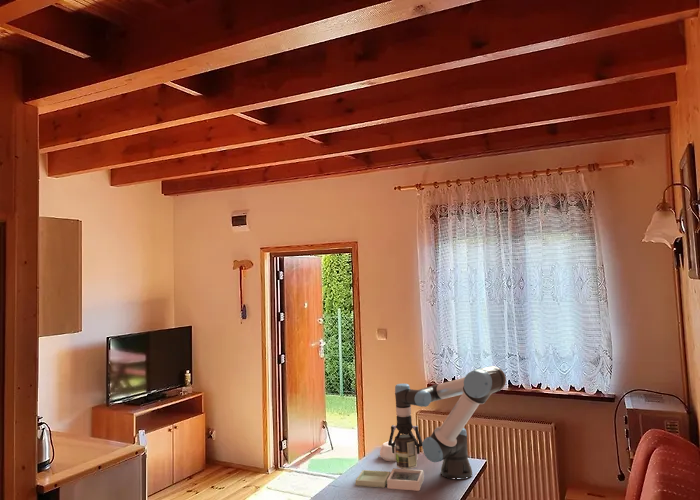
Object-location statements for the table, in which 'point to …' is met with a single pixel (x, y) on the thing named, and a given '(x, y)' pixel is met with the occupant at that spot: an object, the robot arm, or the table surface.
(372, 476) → the tray
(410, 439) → the coffee can
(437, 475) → the table surface
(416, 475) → the plate
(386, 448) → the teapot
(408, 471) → the checker cradle
